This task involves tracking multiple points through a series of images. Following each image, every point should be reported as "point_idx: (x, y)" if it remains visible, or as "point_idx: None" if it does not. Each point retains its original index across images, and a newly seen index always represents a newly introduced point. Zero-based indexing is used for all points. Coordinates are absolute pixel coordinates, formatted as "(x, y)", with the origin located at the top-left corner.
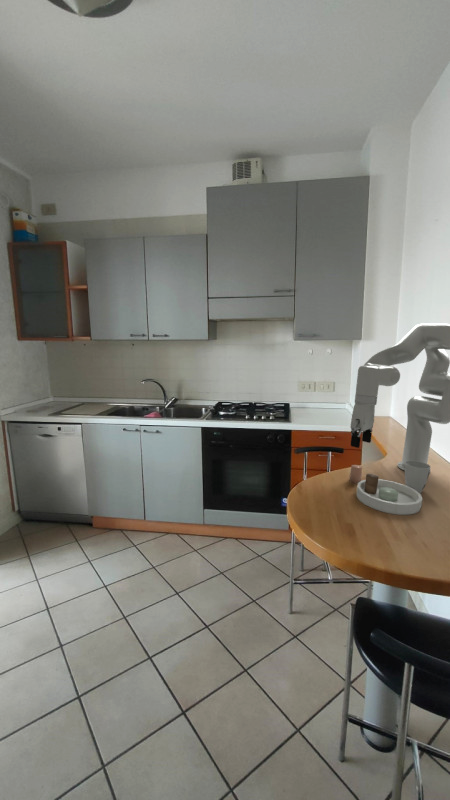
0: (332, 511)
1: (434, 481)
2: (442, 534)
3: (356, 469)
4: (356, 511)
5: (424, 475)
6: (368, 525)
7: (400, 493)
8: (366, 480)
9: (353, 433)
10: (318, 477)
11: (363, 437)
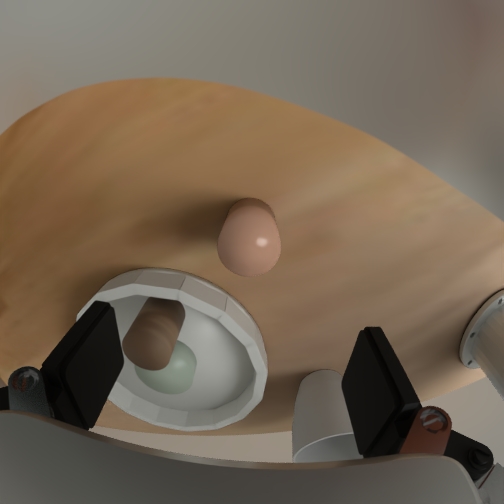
0: (5, 257)
1: (421, 390)
2: (121, 428)
3: (220, 253)
4: (45, 302)
5: (302, 450)
6: (28, 334)
7: (236, 378)
8: (132, 324)
9: (1, 407)
10: (166, 81)
11: (368, 362)
